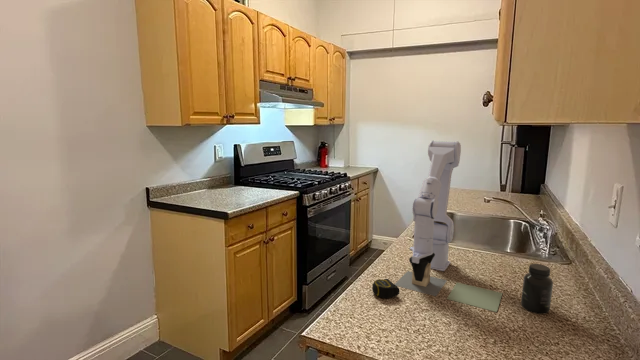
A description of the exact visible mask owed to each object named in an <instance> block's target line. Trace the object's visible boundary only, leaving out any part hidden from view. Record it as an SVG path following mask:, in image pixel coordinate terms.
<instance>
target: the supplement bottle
mask: <svg viewBox="0 0 640 360" xmlns="http://www.w3.org/2000/svg"><path fill="white" fill-rule="evenodd" d="M528 267H529V268H528V272H527V273H526V274H524V276H523V282H522V289H521V290H522V291H521V302H520V304H521V306H522V308H524V309H525V310H526V311H528V312H530V313H533V314H537V315H538V314H539V315H545V314H548V313H549V312H550V308H551V305H552V304H551V303H552V295H553V287H554V281H553V279H552V278H551V277H550V276H551V268H550V267H548V266H547V265H544V264H541V263H531V264H529V266H528Z"/></svg>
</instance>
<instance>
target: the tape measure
mask: <svg viewBox="0 0 640 360" xmlns="http://www.w3.org/2000/svg"><path fill="white" fill-rule="evenodd" d="M371 286H372V289H371V290H372V293H373V294H374V295H375V296H376V297H379V298H382V299H390V298H393V297H397V296H399V295H400V288H399V286H396V285H395V283H393V282H392V281H391V280H390V279H388V278H384V279H381V278H380V279H376V280H374V281H373V283H372V285H371Z"/></svg>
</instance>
